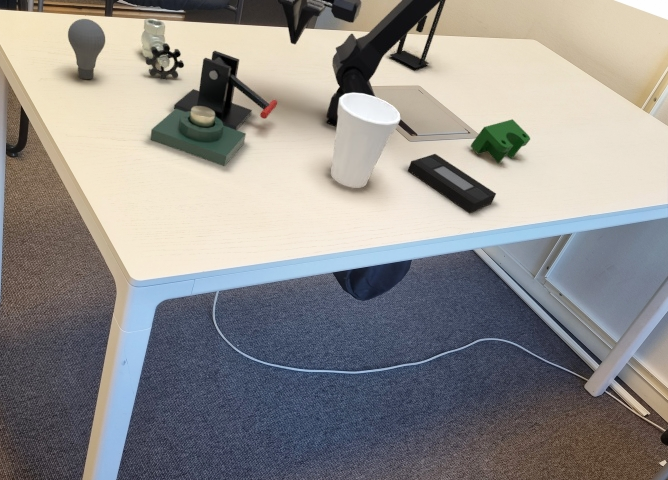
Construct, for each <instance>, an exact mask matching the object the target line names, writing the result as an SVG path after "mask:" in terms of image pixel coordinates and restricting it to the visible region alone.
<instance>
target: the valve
mask: <svg viewBox="0 0 668 480" xmlns="http://www.w3.org/2000/svg"><path fill="white" fill-rule="evenodd" d="M165 34H166V24H165V23H164V21H162V20H159V19H156V18H146V19H144V20H143V31H142V34H141V39H140V41H141V45H142V46H141V54H142V56H143V57H144V62H145V64H146V65H147V66H152V68H149V69H148V73H149V75H150V76H151V77H155V76H157V74H158V75H159V79H160V80H167V79H168V76H171V77H172V78H174V79H176V78H177V79H178V77H179V73H178V71H177V69H178V68H179V69H183V68H184V66H185V63H184V61H183V60H181V59H179V60H178V58H180V57H181V55H182V53H181V51H180V50H179V49H178V48H175V49H174V50H173V51H171V47H170V45H169V44H168V43H167V42H166V37H165ZM170 59H173V65H172V67H171V68H170V69H168V70H165V69H166V68H168V67H169V66H170V65H171V63H170V62H171V61H170ZM156 61H157V63H158V65H159V66H160V67H159V68H160V69H159V68H158V67H157V66H156Z"/></svg>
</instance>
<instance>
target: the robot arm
mask: <svg viewBox="0 0 668 480" xmlns="http://www.w3.org/2000/svg"><path fill="white" fill-rule="evenodd" d="M440 1H441V0H401V1H399V3H397V5H395V7H393V8H392V9H391V10H390V12H388V14H387V15H385V16H384V17H383V19H381V20H380V21H379V22H378V23H377V24H376V25H375V26H374V27H373V28H372V29H371V30H370V31H369V32H368V33H367V34H365V35H363V36H361V37H358V38H356V36H355V35H354V34H353V33H350V34H349V35H348V36H347V38H346V39H345V41H343V43H342V44H340V45H338V46H336V47H335V54H334V55H333V57H332V64H331V65H332V69H333V72H334V73H333V74H334V76H335V80H336V84H337V85H338V86H339V87H338V88H337V90H335V93H334V92H333V94H332V96H331V98H330V102H329V104H328V105H329V106H328V109H327V113H326V118H327V120H326V122H325V123H326V124H327V125H329V126H333V127H336V128H337V121H338V104H339V98H340V97H341V96H343V95H344V94H348V93H362V94H367V95H371V96H374V97H376V95H375V93H374V89H373V87H372V84H371V79H372V78H373V76H374V75H375V73H376V72H377V69H378V68H379V65H380V63H381V61H382V60H383V57H384V56H385V55H386V54H387V53H388V52H389V51H390V50H391V49H392V48H393V47H395V45H397V44H398V43H399V42H400V39H401V38H403V37H404V36H405V35H406V34H407V35H408V33H409V32H410V31H411V30H412V29H414V27H415V26H416V25H418V22H419V21H420V20H421V19H422V18H423V17H424V16H428V14H429V13H430V12H431V11H432V10H433V9H435V7H436V6H438V5H439V3H440ZM276 3H277V4H280V5H281V6H282V7H281V8H282V10H283V13H284V16H285V20H286V25H287V30H288V35H289V41H290V44H292V45H297V43H298V41H299V40H300V38H301V36H302V35H303V33H304V32H305V30H306V27H307V26H308V24H309V22H310V21H311V20H312V19H313V17H320V16H321V15H322V14H323V13H324V12H325V10H326V8H330V12H331V13H332V15H333V17H334V18H336V19H338V20H341V21H344V22H347V23H350V24H351V23H352V24H354V22H355V21H356V20H357V18H358V17H359V15H360V13H361V12H360V11H361V8H362V1H361V0H306V4H304V6H303V7H302V8H301V5H302V0H276ZM300 8H301V11H300Z"/></svg>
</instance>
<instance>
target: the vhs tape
mask: <svg viewBox="0 0 668 480" xmlns="http://www.w3.org/2000/svg"><path fill="white" fill-rule="evenodd" d="M407 172H409V173H411V174H412V175H413V176H414V177H416V178H418V179H420V180H421V181H423V182H424V183H425V184H427V185H429V186H430V187H431V188H433V189H434V190H436V191H437V192H439V193H440V194H442V195H443V196H444V197H446V198H447V199H448V200H450V201H452V202H453V203H454V204H456V205H457V206H458V207H460V208H462V209H464V210H465V211H466V212H468V213H469V214H471V213H473V212H476V211H478V210H480V209H483V208H484V207H486V206H488V205H491V204H493V202H494V200H495V197H496V195H497V193H496V192H495V191H493V190H492V189H490V188H489V187H487V186H485V185H484V184H482V183H481V182H479V181H478V180H476V179H475V178H473V177H472V176H470V175H469V174H467V173H466V172H464V171H463V170H461V169H459V168H458V167H456V166H455V165H453V164H452V163H450V162H449V161H448V160H445V159H444V158H442V157H441V156H440V155H438V154H437V153H433V154H429V155H427V156H424V157H420V158H417V159H414V160H411V161H410V163H409V165H408V169H407Z"/></svg>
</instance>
